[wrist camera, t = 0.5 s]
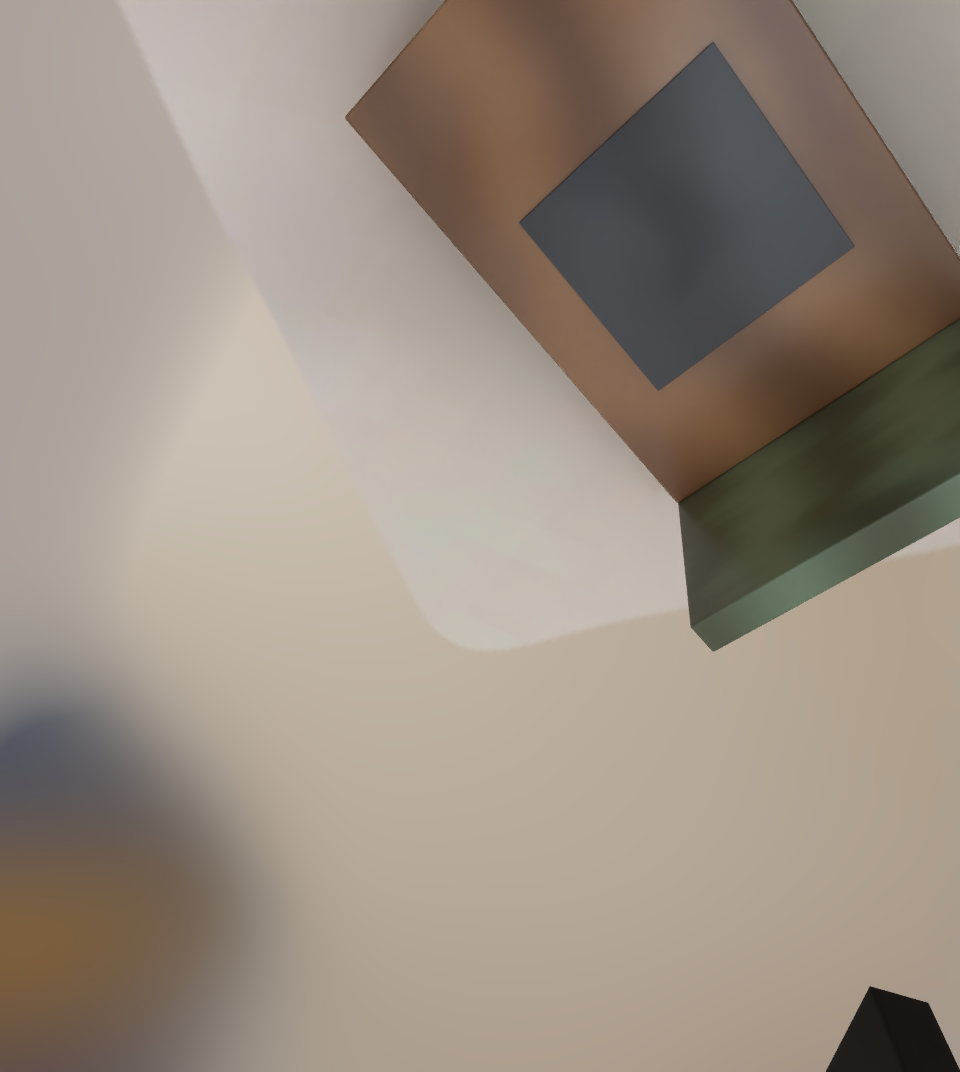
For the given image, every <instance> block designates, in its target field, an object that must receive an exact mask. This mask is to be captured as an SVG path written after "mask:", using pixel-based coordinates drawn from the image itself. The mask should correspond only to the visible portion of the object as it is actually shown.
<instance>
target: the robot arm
mask: <svg viewBox="0 0 960 1072" xmlns="http://www.w3.org/2000/svg"><path fill="white" fill-rule="evenodd" d="M826 1072H960V1069H959V1067H958V1065H957V1063H956V1061H955V1059H954V1057H953V1055H952V1052H951V1050H950V1048H949V1046H948V1044H947V1042H946V1040H945V1038H944V1035H943V1033H942V1031H941V1029H940V1027H939V1025H938V1023H937V1021H936V1018H935V1016H934V1014H933V1012H932V1010H931V1008H930V1006H929V1004H928V1003H927V1002H923V1001H920V1000H916V999H912V998H909V997H906V996H902V995H899V994H895V993H892V992H888V991H885V990H881V989H878V988H874V987H871V986H870V987H869V989H868V991H867V993H866V995H865V997H864V999H863V1001H862V1003H861V1005H860V1007H859V1008H858V1010H857V1012H856V1015H855V1016H854V1018H853V1020H852V1022H851V1024H850V1026H849V1028H848V1030H847V1032H846V1034H845V1036H844V1038H843V1039H842V1041H841V1043H840V1045H839V1047H838V1049H837V1051H836V1053H835V1055H834V1057H833V1059H832V1061H831V1062H830V1065H829V1066H828V1068H827V1070H826Z"/></svg>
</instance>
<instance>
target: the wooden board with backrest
mask: <svg viewBox="0 0 960 1072" xmlns="http://www.w3.org/2000/svg"><path fill="white" fill-rule="evenodd" d="M345 118H346V120H347V121H348V122H349V124H350V125H351V126H352V127H353V128H354V129H355V130H356V132H357V133H358V134H359V135H360V136H361V137H362V139H363V140H364V141H365V142H366V143H367V144H368V146H369V147H370V148H371V149H372V150H373V151H374V152H375V154H376V155H377V156H378V157H379V158H380V159H381V161H382V162H383V163H384V164H385V165H386V166H387V168H388V169H389V170H390V171H391V172H392V173H393V174H394V176H395V177H396V178H397V179H398V180H399V181H400V183H401V184H402V185H403V186H404V187H405V188H406V190H407V191H408V192H409V193H410V194H411V195H412V196H413V198H414V199H415V200H416V201H417V202H418V203H419V205H420V206H421V207H422V208H423V209H424V210H425V212H426V213H427V214H428V215H429V216H430V217H431V218H432V220H433V221H434V222H435V223H436V224H437V225H438V227H439V228H440V229H441V230H442V231H443V232H444V234H445V235H446V236H447V237H448V238H449V239H450V240H451V242H452V243H453V244H454V245H455V246H456V247H457V249H458V250H459V251H460V252H461V253H462V254H463V256H464V257H465V258H466V259H467V260H468V261H469V262H470V264H471V265H472V266H473V267H474V268H475V269H476V271H477V272H478V273H479V274H480V275H481V276H482V278H483V279H484V280H485V281H486V282H487V283H488V284H489V286H490V287H491V288H492V289H493V290H494V291H495V293H496V294H497V295H498V296H499V297H500V298H501V300H502V301H503V302H504V303H505V304H506V305H507V306H508V308H509V309H510V310H511V311H512V312H513V313H514V315H515V316H516V317H517V318H518V319H519V320H520V322H521V323H522V324H523V325H524V326H525V327H526V328H527V330H528V331H529V332H530V333H531V334H532V335H533V337H534V338H535V339H536V340H537V341H538V342H539V344H540V345H541V346H542V347H543V348H544V349H545V350H546V352H547V353H548V354H549V355H550V356H551V357H552V359H553V360H554V361H555V362H556V363H557V364H558V366H559V367H560V368H561V369H562V370H563V371H564V372H565V374H566V375H567V376H568V377H569V378H570V379H571V381H572V382H573V383H574V384H575V385H576V386H577V388H578V389H579V390H580V391H581V392H582V393H583V394H584V396H585V397H586V398H587V399H588V400H589V401H590V403H591V404H592V405H593V406H594V407H595V408H596V409H597V411H598V412H599V413H600V414H601V415H602V416H603V418H604V419H605V420H606V421H607V422H608V423H609V425H610V426H611V427H612V428H613V429H614V430H615V431H616V433H617V434H618V435H619V436H620V437H621V438H622V440H623V441H624V442H625V443H626V444H627V445H628V447H629V448H630V449H631V450H632V451H633V452H634V453H635V455H636V456H637V457H638V458H639V459H640V460H641V462H642V463H643V464H644V465H645V466H646V467H647V469H648V470H649V471H650V472H651V473H652V474H653V475H654V477H655V478H656V479H657V480H658V481H659V482H660V484H661V485H662V486H663V487H664V488H665V489H666V491H667V492H668V493H669V494H670V495H671V496H672V497H673V499H674V500H675V501H676V502H677V503H678V505H679V515H680V525H681V535H682V545H683V555H684V565H685V575H686V585H687V595H688V605H689V615H690V625H691V628H692V629H693V630H694V631H695V632H696V633H697V635H698V636H699V637H700V638H701V639H702V640H703V641H704V642H705V643H706V644H707V646H708V647H709V648H710V649H711V650H712V651H716V650H718V649H719V648H721V647H723V646H725V645H727V644H728V643H730V642H732V641H734V640H736V639H738V638H739V637H741V636H743V635H745V634H747V633H749V632H750V631H752V630H754V629H756V628H758V627H760V626H762V625H763V624H765V623H767V622H769V621H771V620H772V619H774V618H776V617H778V616H780V615H782V614H784V613H785V612H787V611H789V610H791V609H793V608H795V607H796V606H798V605H800V604H802V603H804V602H806V601H807V600H809V599H811V598H813V597H815V596H817V595H818V594H820V593H822V592H824V591H826V590H827V589H829V588H831V587H833V586H835V585H837V584H839V583H840V582H842V581H844V580H846V579H848V578H849V577H851V576H853V575H855V574H857V573H859V572H861V571H862V570H864V569H866V568H868V567H870V566H872V565H873V564H875V563H877V562H879V561H881V560H883V559H884V558H886V557H888V556H890V555H892V554H894V553H895V552H897V551H899V550H901V549H903V548H905V547H906V546H908V545H910V544H912V543H914V542H916V541H917V540H919V539H921V538H923V537H925V536H927V535H928V534H930V533H932V532H934V531H936V530H938V529H939V528H941V527H943V526H945V525H947V524H949V523H950V522H952V521H954V520H956V519H958V518H960V258H959V257H958V255H957V253H956V252H955V250H954V249H953V247H952V246H951V244H950V243H949V241H948V240H947V238H946V237H945V235H944V233H943V232H942V230H941V229H940V227H939V226H938V224H937V223H936V221H935V220H934V218H933V217H932V215H931V213H930V212H929V210H928V209H927V207H926V206H925V204H924V203H923V201H922V200H921V198H920V197H919V195H918V193H917V192H916V190H915V189H914V187H913V186H912V184H911V183H910V181H909V180H908V178H907V177H906V175H905V173H904V172H903V170H902V169H901V167H900V166H899V164H898V163H897V161H896V160H895V158H894V157H893V155H892V153H891V152H890V150H889V149H888V147H887V146H886V144H885V143H884V141H883V140H882V138H881V137H880V135H879V133H878V132H877V130H876V129H875V127H874V126H873V124H872V123H871V121H870V120H869V118H868V117H867V115H866V113H865V112H864V110H863V109H862V107H861V106H860V104H859V103H858V101H857V100H856V98H855V96H854V95H853V93H852V92H851V90H850V89H849V87H848V86H847V84H846V83H845V81H844V80H843V78H842V76H841V75H840V73H839V72H838V70H837V69H836V67H835V66H834V64H833V63H832V61H831V60H830V58H829V56H828V55H827V53H826V52H825V50H824V49H823V47H822V46H821V44H820V43H819V41H818V40H817V38H816V36H815V35H814V33H813V32H812V30H811V29H810V27H809V26H808V24H807V23H806V21H805V20H804V18H803V16H802V15H801V13H800V12H799V10H798V9H797V7H796V6H795V4H794V3H793V1H792V0H446V1H445V2H444V3H443V4H442V5H441V7H440V8H439V9H438V10H437V11H436V12H435V14H434V15H433V16H432V17H431V18H430V19H429V20H428V22H427V23H426V24H425V25H424V26H423V27H422V29H421V30H420V31H419V32H418V33H417V34H416V35H415V37H414V38H413V39H412V40H411V41H410V42H409V44H408V45H407V46H406V47H405V48H404V49H403V50H402V52H401V53H400V54H399V55H398V56H397V57H396V59H395V60H394V61H393V62H392V63H391V64H390V65H389V67H388V68H387V69H386V70H385V71H384V72H383V74H382V75H381V76H380V77H379V78H378V79H377V81H376V82H375V83H374V84H373V85H372V86H371V87H370V89H369V90H368V91H367V92H366V93H365V94H364V96H363V97H362V98H361V99H360V100H359V101H358V102H357V104H356V105H355V106H354V107H353V108H352V109H351V111H350V112H349V113H348V114H347V115H346V117H345Z"/></svg>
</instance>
